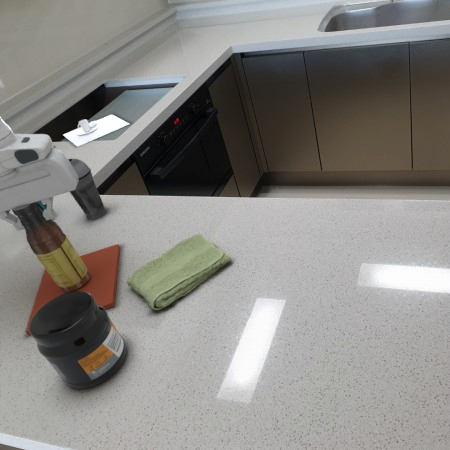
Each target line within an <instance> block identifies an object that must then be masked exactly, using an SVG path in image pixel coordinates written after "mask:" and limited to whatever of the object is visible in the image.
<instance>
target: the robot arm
mask: <svg viewBox="0 0 450 450" xmlns="http://www.w3.org/2000/svg"><path fill="white" fill-rule="evenodd" d="M56 148H57V147H56ZM56 148H54V147H53V141H52V138H51V137H50V135H48V134H45V133H14V132H13V130H12V128H11V127H10V125H8V124H7V123H6V122H5V121H4V120H3V118H2V117H1V116H0V220H2V221H5V222H6V223H9V224H11V225H12V226H13V228H14V229H15V230H16V231H17V232H19V231H21V230H25V227H24V226H23V224H22V222H21V221H20V219H19V218H18V216H16V215H15V214H14V213H11V211H12V210H11V209H14V208H17V207H21V206H24V205H27V204H31V203H34V202H37V201H41V202H42V204H43V205H45V204H47V209H45V210H44V211H43V214H42V215H43V217H44V218H45V220H46V221H51V220H52V221H54V220H56V219H57V213H56V212H55V209H54V208H53V205H54V197H57V196H60V195H64V194H66V193H70V191H73V190H75V189H76V187H77V184H78V181H79V177H78V175H77V173H76V171H75V169H74V168H73V166H72V165H71V163H70V162H69V160H68V159H69V158H67V156H66V155H65V154H64V153H63V152H62V151H61V150H60V149H58V148H57V149H56Z"/></svg>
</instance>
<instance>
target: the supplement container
mask: <svg viewBox="0 0 450 450" xmlns="http://www.w3.org/2000/svg"><path fill="white" fill-rule="evenodd" d="M29 332H30V335H31V337H32V339H33V340H35V342H36V346H37V347H36V348H37V351H38V352H39V353H40V355H41V356H42V357H44V358H45V359H46V360H47V362H48V363H49V364H50V365H51V367H52V368H53V369H54V371H55V372H56V373H57V374H58V375H59V377H60V378H61V380H62V381H63V382H64V384H66V385H68V386H69V387H71V388H74V389H86V388H91V387H93V386H96V385H99V384H101V383H103V382H104V381H106V380H107V379H108V378H110V377H111V376H112V375H114V373H116V371H117V370H118V369H119V368H120V367H121V365H122V364H123V361H124V360H125V357H126V355H127V344H126V341H125V339H124V338H123V336H122V335H121V333H120V332H119V330H118V329H117V327H116V326H115V324H114V323H113V321H112V319H111V317H110V316H109V314H108V311H107V309H105V308H104V307H102V306H101V305H99V304H97V302H96V301H95V299H94V298H93V296H92V295H91V294H90V293H88V292H86V291H72V292H68V293H65V294H62V295H60V296H58V297H56V298H54V299H52V300H51V301H49V302H48V303H46V304H45V305H44V306H42V307H41V308H40V309H39V310H38V311H37V312H36V314H35V315H34V316H33V318H32V320H31V322H30V325H29Z"/></svg>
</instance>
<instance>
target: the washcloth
mask: <svg viewBox="0 0 450 450" xmlns="http://www.w3.org/2000/svg"><path fill="white" fill-rule="evenodd" d="M231 260H232V258H231V256H230V255H229V254H228V253H227V252H225V251H224V250H223V249H222V248H221V247H219V245H217V244H215V243H213V241H211V240H209V239H207V238H205V236H203V234H201V233H199V234H194V235H192V236H189V237H188V238H185V239H183V240H181V241H180V242H178V243H177V244H175V245H174V246H172V247H171V248H169V249H168V250H166V251H165V252H163V253H162V254H161V255H159V256H158V257H156V258H154V259H152V260H151V261H149V262H146V263H145V264H144V265H143V266H141V267H139V268H138V269H136V270H134V271H133V272H132V274H131V275H129V277H128V278H127V280H126V284H127V286H128V287H130V288H131V289H132V290H133V291H135V293H137V295H140V296H142V297H143V298H144V301H146V303H147V304H148V306H149V307H150V309H152V310H154V311H160V310H163V309H165V308H167V307H168V306H169V305H171V304H172V303H174V302H175V301H177V300H178V299H180V298H181V297H185V296H186V295H188V294H189V293H191V292H192V291H193V290H194V289H195V288H197V287H198V286H199V285H201V284H203V282H205V281H206V280H207V279H209V278H210V277H211V276H212V275H213V274H215V273H216V272H217V271H218V270H220V268H223V267H224V266H225V265H227V263H229V262H230V261H231Z"/></svg>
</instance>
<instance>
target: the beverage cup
mask: <svg viewBox="0 0 450 450" xmlns="http://www.w3.org/2000/svg"><path fill="white" fill-rule="evenodd" d="M52 148H56V149H58V148H57V146H56V145H52ZM67 159H68V160H69V162H70V163H71V165H72V166H73V168H74V169H75V171H76V173H77V175H78V177H79V181H78V184H77V187H76V189H75V190H73V191H70V192H69V193H70V195H71V196H72V198H73V199H74V201H75V202H76V204H77V205H78V207H79V208H80V209H81V210H82V212H83V213H84V215H85V216H86V217H87V218H88V220H92V221H93V220H97V219H99V218H101V217H103V216H104V215H105V214H106V212H107V210H106V208H105V205H104V202H103V200H102V197H101V196H100V193H99V190H98V188H97V186H96V183H95V181H94V176H93V173H92V169H91V168H90V167H89V166H88V164H87V163H85V162H84V161H83V160H81V159H79V158H67Z"/></svg>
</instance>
